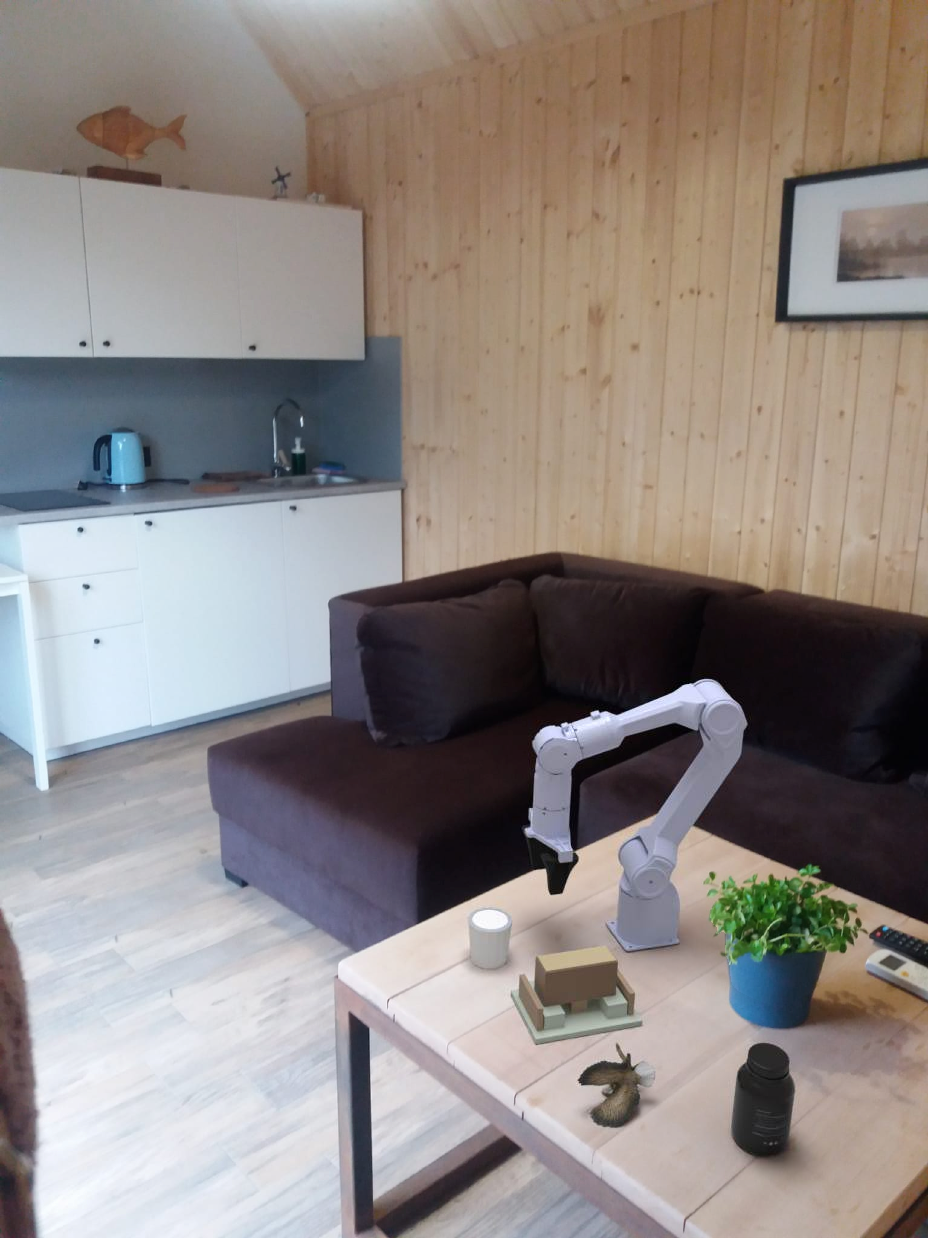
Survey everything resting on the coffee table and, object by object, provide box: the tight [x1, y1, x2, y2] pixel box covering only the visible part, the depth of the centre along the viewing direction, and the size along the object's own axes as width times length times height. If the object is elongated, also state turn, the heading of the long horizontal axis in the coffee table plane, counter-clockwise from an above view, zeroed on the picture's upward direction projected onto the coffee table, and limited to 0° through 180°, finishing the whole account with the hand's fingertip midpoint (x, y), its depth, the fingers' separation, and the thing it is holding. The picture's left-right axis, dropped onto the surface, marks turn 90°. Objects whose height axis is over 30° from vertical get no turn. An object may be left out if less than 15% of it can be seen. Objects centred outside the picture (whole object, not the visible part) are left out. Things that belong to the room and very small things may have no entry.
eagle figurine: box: [576, 1042, 656, 1128], centre depth 128 cm, size 8×7×9 cm
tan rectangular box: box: [533, 945, 619, 1007], centre depth 144 cm, size 11×4×6 cm, turn 106°
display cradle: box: [510, 968, 643, 1045], centre depth 145 cm, size 16×11×4 cm
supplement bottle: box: [730, 1042, 796, 1158], centre depth 122 cm, size 7×7×12 cm
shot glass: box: [467, 907, 513, 970], centre depth 156 cm, size 7×7×7 cm
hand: (547, 880), depth 160 cm, fingers open, 7 cm apart
